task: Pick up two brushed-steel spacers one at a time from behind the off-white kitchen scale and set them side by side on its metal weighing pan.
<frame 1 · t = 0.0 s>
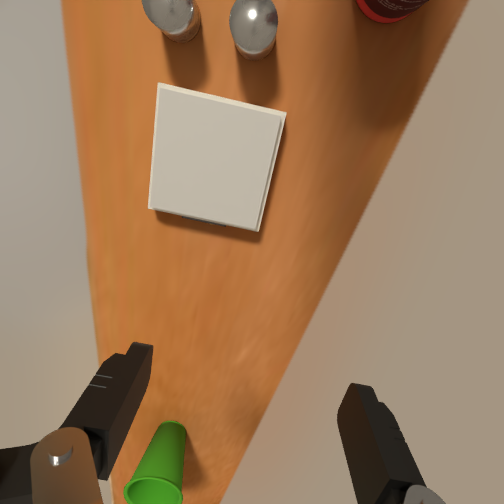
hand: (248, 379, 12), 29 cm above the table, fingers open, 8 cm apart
scale: (215, 161, 37), on the table
cup: (172, 429, 56), on the table
spacer a: (254, 36, 32), on the table
spacer b: (179, 17, 32), on the table
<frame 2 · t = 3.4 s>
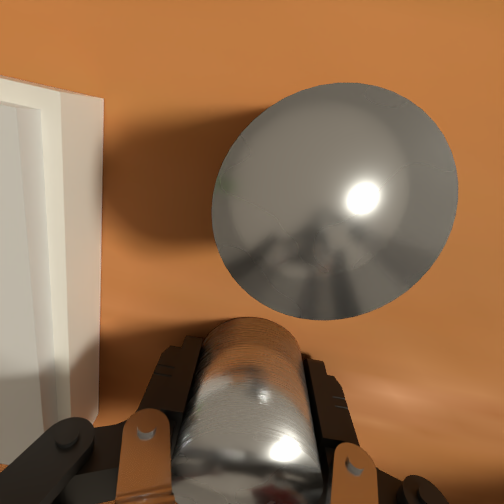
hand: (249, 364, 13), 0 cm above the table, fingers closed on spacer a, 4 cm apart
spacer a: (250, 359, 13), on the table, touching gripper
spacer b: (299, 176, 10), on the table
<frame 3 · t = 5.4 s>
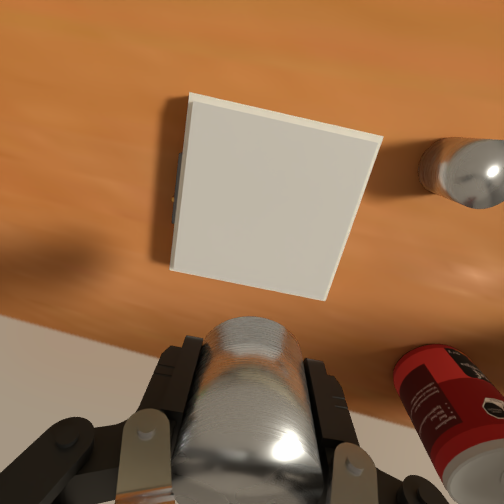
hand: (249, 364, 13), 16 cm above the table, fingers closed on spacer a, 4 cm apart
canned food: (427, 368, 33), on the table
scale: (265, 203, 26), on the table
spacer a: (250, 358, 13), point 15 cm above the table, touching gripper
spacer b: (446, 166, 24), on the table
when the fingers open (4 cm above the table, at t = 7.8 s): spacer a stays where it is, resting on scale.
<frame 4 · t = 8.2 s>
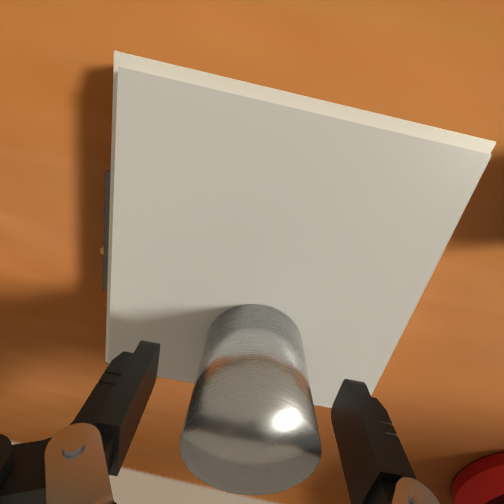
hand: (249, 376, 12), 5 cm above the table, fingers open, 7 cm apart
canned food: (501, 479, 22), on the table
scale: (266, 251, 15), on the table
spacer a: (253, 344, 14), point 3 cm above the table, touching scale
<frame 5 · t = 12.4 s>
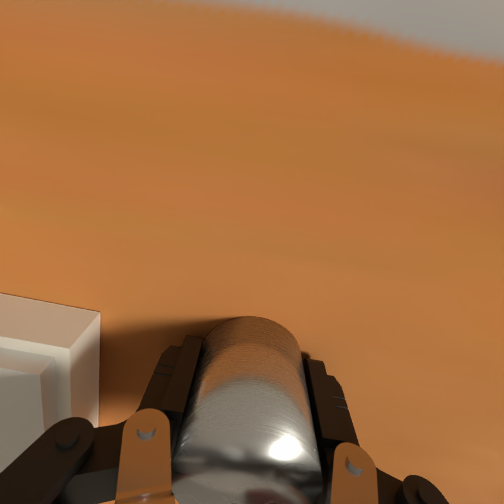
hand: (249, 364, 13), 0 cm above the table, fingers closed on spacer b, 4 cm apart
spacer b: (250, 358, 13), on the table, touching gripper
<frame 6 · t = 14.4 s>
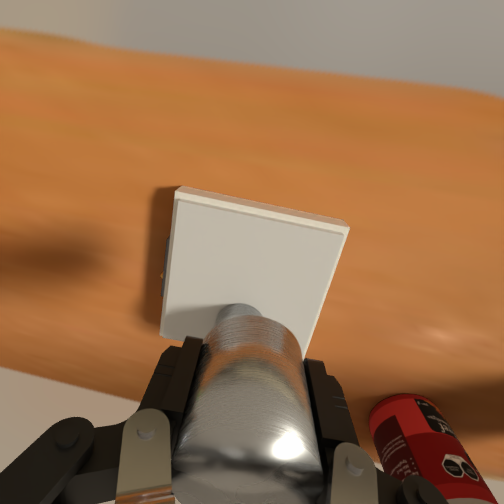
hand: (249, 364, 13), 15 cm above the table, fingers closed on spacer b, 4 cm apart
canned food: (401, 414, 35), on the table
scale: (247, 274, 28), on the table
spacer a: (239, 324, 27), point 3 cm above the table, touching scale
spacer b: (250, 357, 13), point 15 cm above the table, touching gripper
when the fingers open (4 cm above the table, at t = 16.8 s): spacer b stays where it is, resting on scale.
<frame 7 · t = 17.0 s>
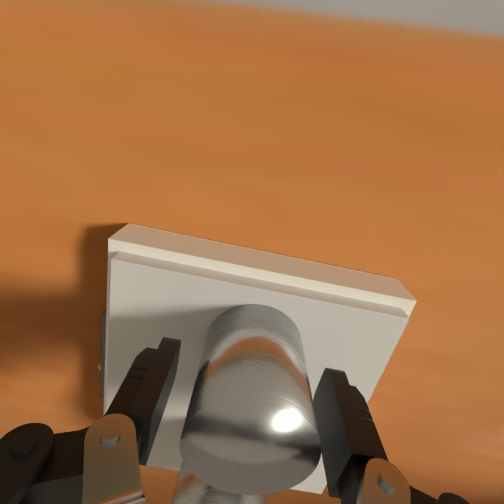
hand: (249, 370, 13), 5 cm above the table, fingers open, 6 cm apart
scale: (239, 356, 18), on the table
spacer a: (227, 444, 17), point 3 cm above the table, touching scale
spacer b: (253, 344, 14), point 3 cm above the table, touching scale
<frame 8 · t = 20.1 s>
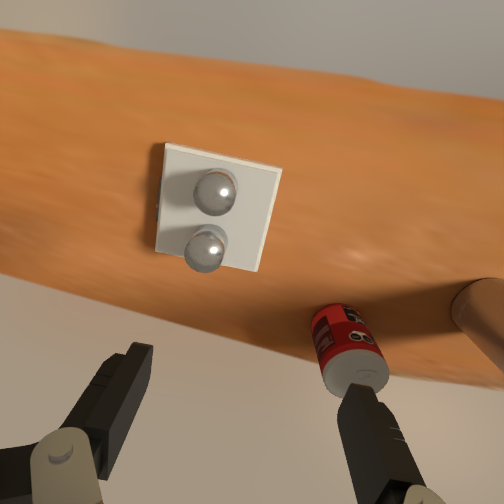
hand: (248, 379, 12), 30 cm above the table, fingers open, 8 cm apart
canned food: (335, 322, 47), on the table
scale: (217, 208, 40), on the table
spacer a: (210, 240, 39), point 3 cm above the table, touching scale
spacer b: (220, 186, 36), point 3 cm above the table, touching scale
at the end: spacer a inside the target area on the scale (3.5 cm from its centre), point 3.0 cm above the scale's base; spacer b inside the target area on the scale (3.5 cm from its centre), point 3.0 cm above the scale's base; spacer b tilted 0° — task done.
